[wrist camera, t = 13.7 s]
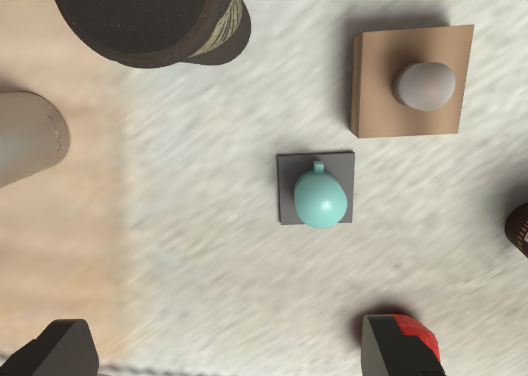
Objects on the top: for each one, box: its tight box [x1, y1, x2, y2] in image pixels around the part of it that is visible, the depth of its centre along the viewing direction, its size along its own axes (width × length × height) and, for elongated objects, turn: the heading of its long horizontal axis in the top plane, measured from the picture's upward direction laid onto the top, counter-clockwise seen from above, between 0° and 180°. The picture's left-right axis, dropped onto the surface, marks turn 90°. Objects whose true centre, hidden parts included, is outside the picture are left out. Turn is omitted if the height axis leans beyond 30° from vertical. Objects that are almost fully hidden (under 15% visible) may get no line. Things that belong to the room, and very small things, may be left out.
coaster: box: [278, 152, 355, 225], centre depth 39 cm, size 9×9×1 cm
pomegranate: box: [384, 314, 440, 362], centre depth 43 cm, size 10×10×9 cm
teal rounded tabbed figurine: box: [294, 161, 347, 228], centre depth 37 cm, size 8×6×4 cm
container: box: [55, 0, 251, 69], centre depth 24 cm, size 9×9×20 cm
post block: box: [350, 25, 474, 138], centre depth 31 cm, size 10×10×8 cm
